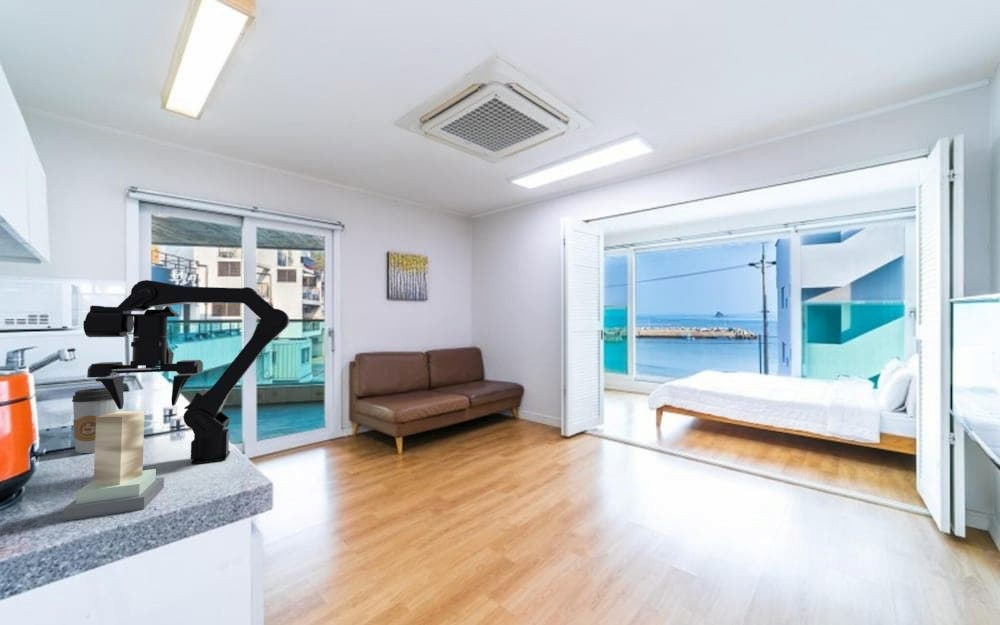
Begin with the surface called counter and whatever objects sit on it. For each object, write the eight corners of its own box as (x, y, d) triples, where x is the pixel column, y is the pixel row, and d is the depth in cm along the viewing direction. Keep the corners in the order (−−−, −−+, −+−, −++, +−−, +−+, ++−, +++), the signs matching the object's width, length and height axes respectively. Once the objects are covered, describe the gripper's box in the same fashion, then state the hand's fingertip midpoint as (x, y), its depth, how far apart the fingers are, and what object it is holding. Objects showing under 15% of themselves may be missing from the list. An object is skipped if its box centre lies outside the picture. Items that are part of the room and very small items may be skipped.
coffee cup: (62, 457, 94) (65, 393, 95) (78, 448, 102) (81, 388, 102) (109, 452, 98) (111, 391, 99) (122, 443, 106) (124, 386, 106)
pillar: (117, 475, 73) (120, 411, 73) (142, 475, 73) (144, 411, 73) (93, 484, 68) (96, 416, 69) (119, 484, 68) (122, 416, 69)
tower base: (163, 487, 77) (164, 466, 77) (144, 508, 68) (144, 485, 68) (94, 496, 73) (95, 474, 73) (63, 520, 64) (64, 495, 64)
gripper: (209, 336, 101) (207, 398, 101) (111, 336, 93) (109, 404, 93) (197, 337, 91) (195, 406, 90) (87, 337, 83) (84, 413, 83)
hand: (147, 407), depth 89 cm, fingers open, 9 cm apart
